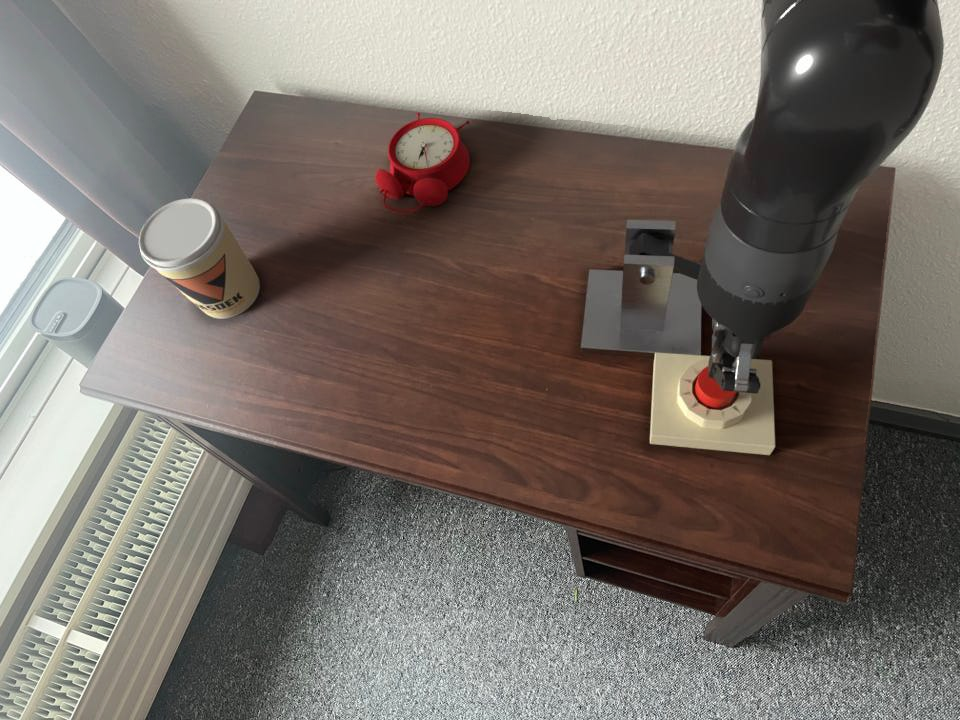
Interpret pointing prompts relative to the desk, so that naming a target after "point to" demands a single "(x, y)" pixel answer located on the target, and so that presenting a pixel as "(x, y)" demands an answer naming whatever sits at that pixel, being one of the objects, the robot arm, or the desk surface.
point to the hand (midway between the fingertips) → (720, 371)
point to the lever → (663, 254)
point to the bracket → (642, 303)
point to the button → (711, 391)
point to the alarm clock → (424, 162)
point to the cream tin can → (200, 257)
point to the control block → (709, 409)
